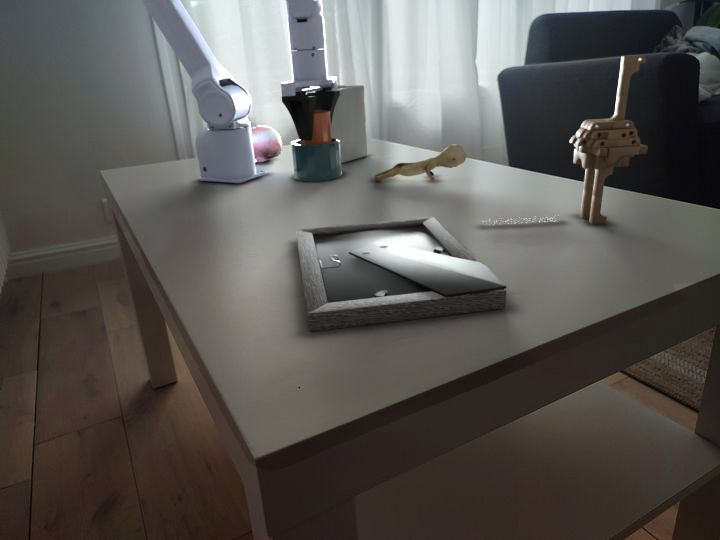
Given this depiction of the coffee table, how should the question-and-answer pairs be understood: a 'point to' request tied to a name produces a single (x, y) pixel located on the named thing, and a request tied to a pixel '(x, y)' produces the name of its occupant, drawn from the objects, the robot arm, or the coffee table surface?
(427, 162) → the figurine
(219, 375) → the coffee table surface
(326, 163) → the base cup
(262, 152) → the onion
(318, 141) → the cup
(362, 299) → the picture frame
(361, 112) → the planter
